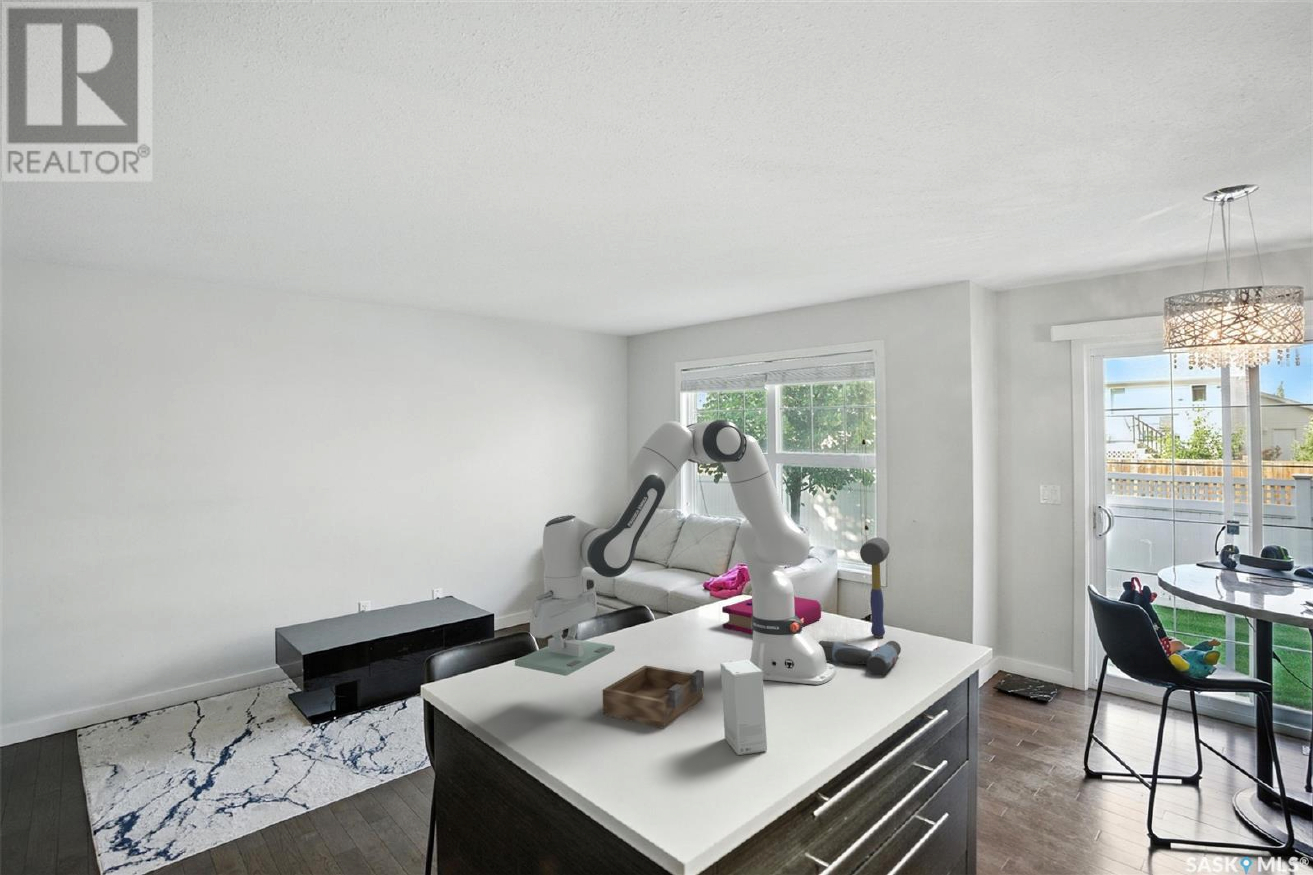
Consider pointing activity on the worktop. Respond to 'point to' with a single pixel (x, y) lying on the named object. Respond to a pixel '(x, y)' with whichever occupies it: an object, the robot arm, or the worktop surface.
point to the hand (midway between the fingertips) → (565, 646)
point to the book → (744, 611)
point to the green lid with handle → (564, 656)
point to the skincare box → (743, 707)
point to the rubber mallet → (876, 580)
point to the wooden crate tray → (653, 695)
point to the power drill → (863, 655)
